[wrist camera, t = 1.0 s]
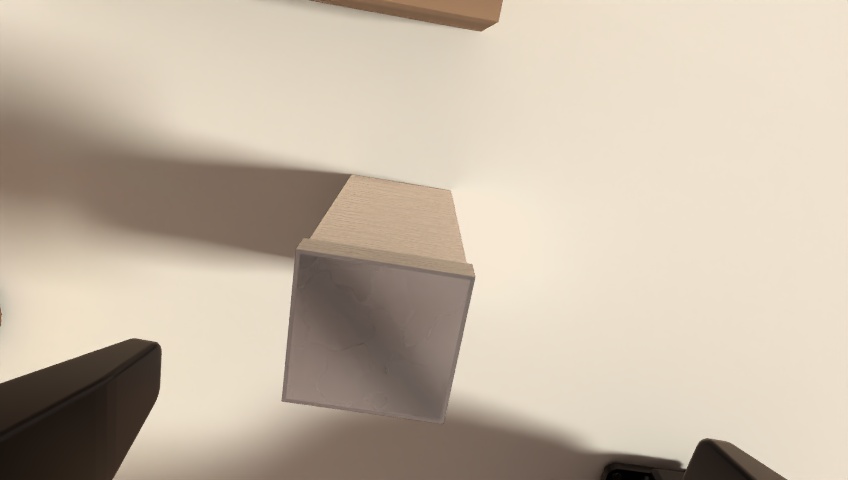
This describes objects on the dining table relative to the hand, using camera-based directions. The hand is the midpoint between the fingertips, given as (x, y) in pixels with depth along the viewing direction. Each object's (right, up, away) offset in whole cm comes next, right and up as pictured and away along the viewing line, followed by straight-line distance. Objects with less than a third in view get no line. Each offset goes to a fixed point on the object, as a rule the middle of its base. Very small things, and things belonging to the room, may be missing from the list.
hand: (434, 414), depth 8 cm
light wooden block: (-1, +3, +13) cm, 13 cm away
